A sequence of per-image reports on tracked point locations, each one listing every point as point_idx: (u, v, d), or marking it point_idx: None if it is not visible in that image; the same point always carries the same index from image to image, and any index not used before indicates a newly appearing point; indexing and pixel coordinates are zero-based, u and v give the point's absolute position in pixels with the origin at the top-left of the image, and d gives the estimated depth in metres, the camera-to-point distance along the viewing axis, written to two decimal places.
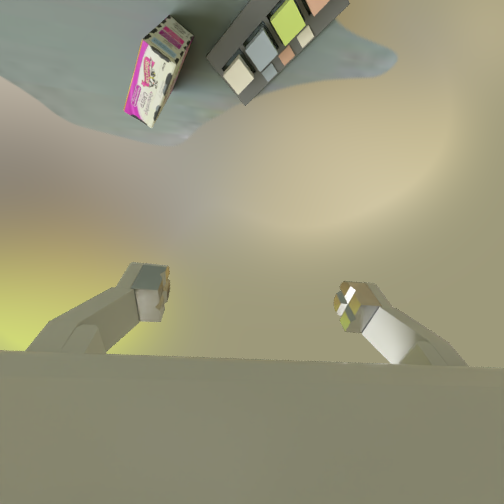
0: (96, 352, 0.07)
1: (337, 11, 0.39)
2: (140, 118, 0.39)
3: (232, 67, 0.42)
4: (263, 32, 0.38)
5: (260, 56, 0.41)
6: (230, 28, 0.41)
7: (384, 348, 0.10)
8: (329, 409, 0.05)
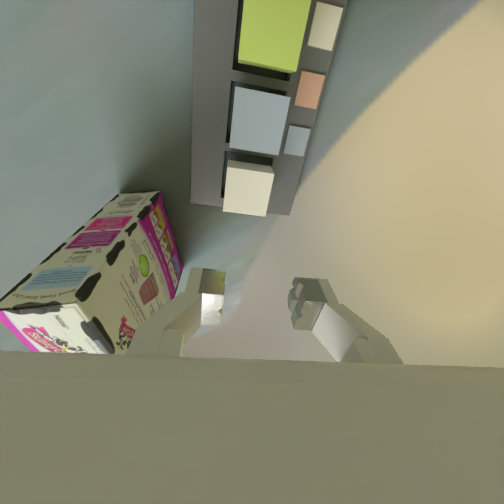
0: (181, 355, 0.07)
1: None
2: None
3: (227, 188, 0.20)
4: (238, 90, 0.17)
5: (261, 131, 0.18)
6: (194, 138, 0.22)
7: (330, 346, 0.10)
8: (329, 409, 0.05)
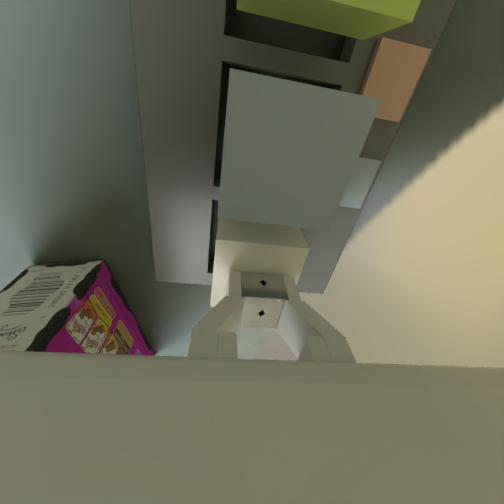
0: None
1: None
2: None
3: (217, 272, 0.11)
4: (238, 79, 0.06)
5: (294, 183, 0.07)
6: (150, 180, 0.11)
7: (292, 344, 0.09)
8: (329, 409, 0.05)
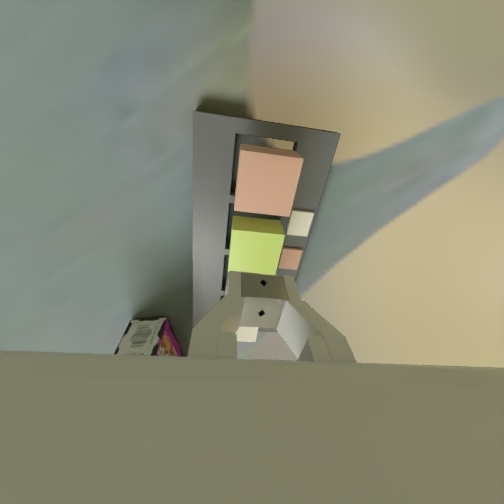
0: None
1: (326, 160, 0.19)
2: None
3: None
4: None
5: None
6: (194, 289, 0.26)
7: (293, 344, 0.09)
8: (329, 409, 0.05)
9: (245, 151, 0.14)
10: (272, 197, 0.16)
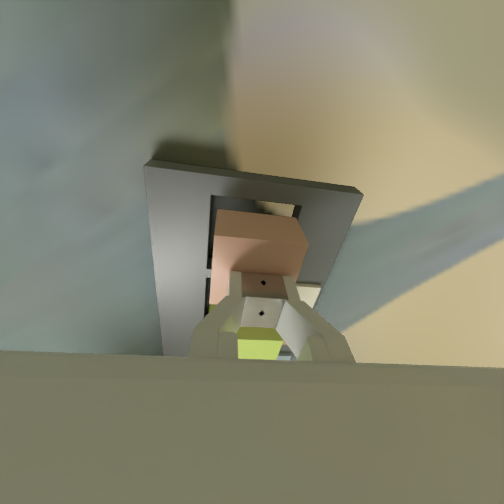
0: None
1: (341, 226, 0.13)
2: None
3: None
4: None
5: None
6: None
7: (292, 344, 0.09)
8: (329, 409, 0.05)
9: (222, 236, 0.10)
10: None
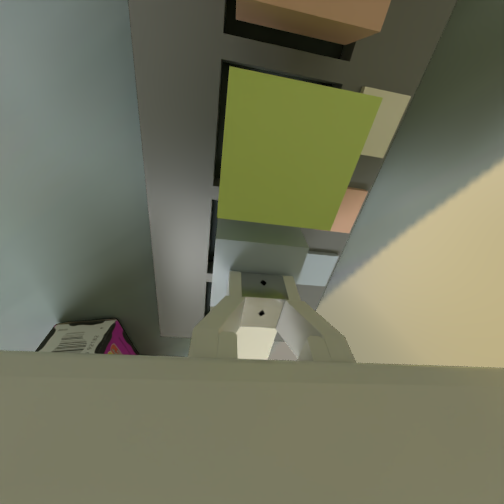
0: None
1: None
2: None
3: None
4: (220, 242, 0.10)
5: None
6: (157, 270, 0.14)
7: (292, 344, 0.09)
8: (329, 409, 0.05)
9: None
10: None
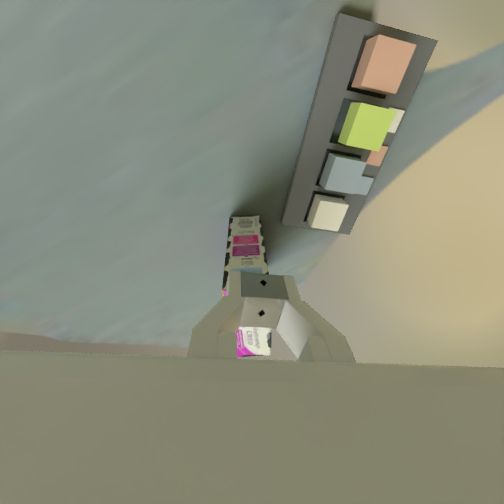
0: None
1: (423, 63, 0.26)
2: (253, 354, 0.28)
3: (317, 213, 0.32)
4: (337, 158, 0.28)
5: (345, 180, 0.30)
6: (294, 182, 0.32)
7: (293, 344, 0.09)
8: (329, 409, 0.05)
9: (381, 36, 0.22)
10: (389, 75, 0.24)
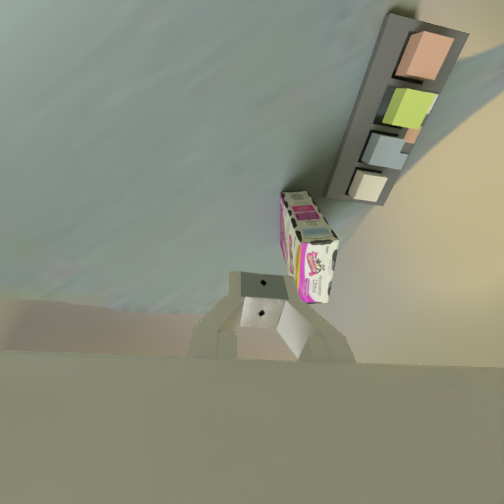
0: None
1: (456, 53, 0.31)
2: (314, 301, 0.34)
3: (360, 185, 0.37)
4: (381, 136, 0.33)
5: (386, 156, 0.35)
6: (340, 160, 0.37)
7: (293, 344, 0.09)
8: (329, 409, 0.05)
9: (426, 32, 0.27)
10: (430, 64, 0.29)
